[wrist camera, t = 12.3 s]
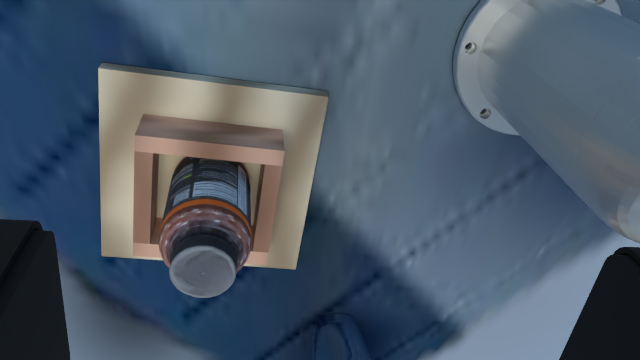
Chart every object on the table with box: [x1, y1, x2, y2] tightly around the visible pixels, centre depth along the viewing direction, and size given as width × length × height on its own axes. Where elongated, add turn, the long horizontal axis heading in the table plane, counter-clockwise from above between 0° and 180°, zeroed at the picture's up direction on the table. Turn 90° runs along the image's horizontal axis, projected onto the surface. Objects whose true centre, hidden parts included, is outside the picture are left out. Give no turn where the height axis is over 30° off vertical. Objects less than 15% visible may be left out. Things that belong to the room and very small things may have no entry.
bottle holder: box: [98, 63, 329, 269], centre depth 42 cm, size 16×16×5 cm
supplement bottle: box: [159, 157, 252, 298], centre depth 39 cm, size 6×6×11 cm
